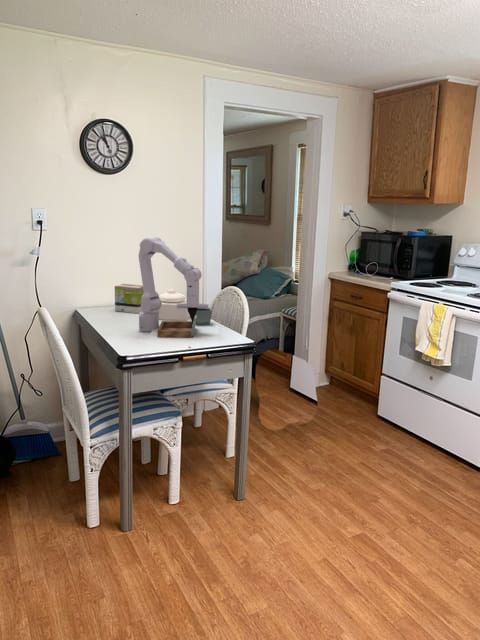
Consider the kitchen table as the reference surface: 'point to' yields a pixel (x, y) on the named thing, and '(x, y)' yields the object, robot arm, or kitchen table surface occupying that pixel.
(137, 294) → the tea box
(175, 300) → the white lidded container
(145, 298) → the robot arm
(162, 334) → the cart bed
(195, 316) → the panel
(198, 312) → the flower pot
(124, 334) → the kitchen table surface
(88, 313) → the kitchen table surface
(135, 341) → the kitchen table surface
